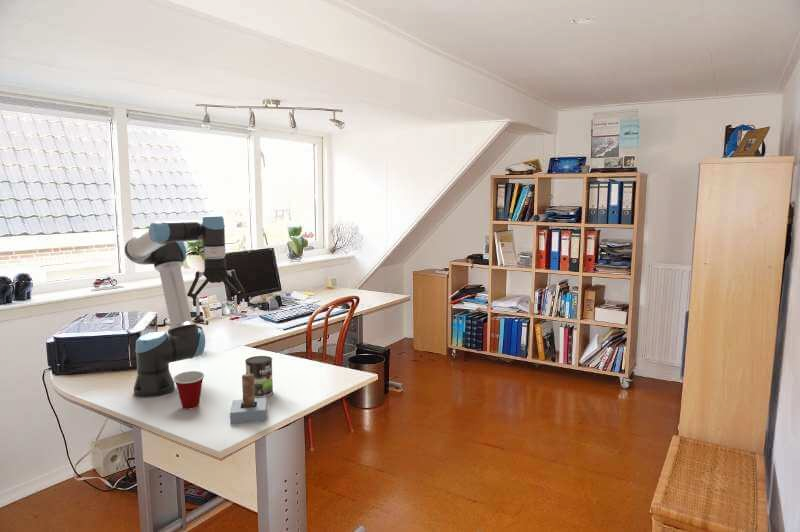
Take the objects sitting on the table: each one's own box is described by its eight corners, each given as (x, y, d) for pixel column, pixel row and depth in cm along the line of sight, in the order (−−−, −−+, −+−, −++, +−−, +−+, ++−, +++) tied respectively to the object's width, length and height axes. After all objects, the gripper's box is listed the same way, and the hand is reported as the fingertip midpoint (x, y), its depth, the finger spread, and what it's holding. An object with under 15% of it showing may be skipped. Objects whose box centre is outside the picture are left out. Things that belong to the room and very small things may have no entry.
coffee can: (278, 391, 215) (277, 358, 213) (259, 400, 206) (258, 364, 204) (260, 387, 220) (259, 354, 218) (241, 395, 211) (239, 360, 210)
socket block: (230, 424, 184) (229, 412, 183) (233, 410, 195) (232, 400, 195) (266, 420, 186) (265, 409, 186) (266, 407, 198) (266, 397, 198)
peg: (243, 418, 189) (241, 377, 187) (243, 414, 192) (242, 374, 191) (254, 417, 189) (253, 376, 188) (255, 413, 193) (253, 373, 191)
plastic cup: (173, 413, 193) (171, 381, 191) (176, 403, 203) (174, 372, 202) (205, 410, 196) (203, 378, 195) (206, 399, 206) (204, 369, 205)
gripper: (177, 259, 190) (180, 317, 192) (249, 257, 195) (251, 314, 198) (180, 257, 197) (183, 313, 200) (250, 255, 202) (252, 310, 205)
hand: (217, 314), depth 199 cm, fingers open, 13 cm apart
